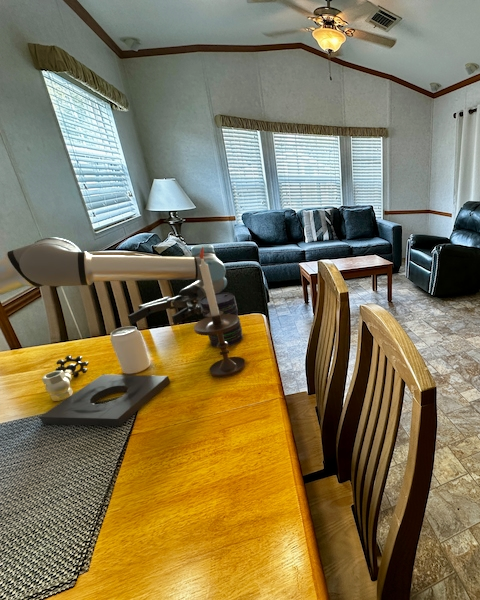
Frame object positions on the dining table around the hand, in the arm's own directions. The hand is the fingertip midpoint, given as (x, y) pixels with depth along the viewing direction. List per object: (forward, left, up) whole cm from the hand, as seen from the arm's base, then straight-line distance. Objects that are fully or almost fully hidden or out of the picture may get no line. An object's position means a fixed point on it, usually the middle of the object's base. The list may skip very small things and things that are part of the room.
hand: (151, 320), depth 98 cm
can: (0, -10, -11) cm, 14 cm away
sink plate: (+5, -24, -10) cm, 26 cm away
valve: (-11, -19, -11) cm, 24 cm away
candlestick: (+26, -9, -11) cm, 29 cm away
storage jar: (+17, +7, -11) cm, 21 cm away
